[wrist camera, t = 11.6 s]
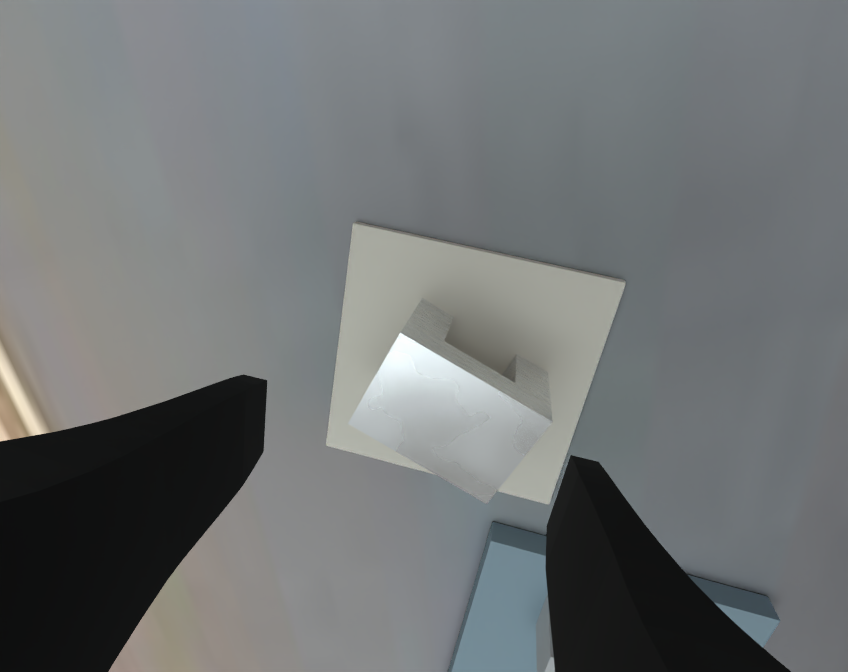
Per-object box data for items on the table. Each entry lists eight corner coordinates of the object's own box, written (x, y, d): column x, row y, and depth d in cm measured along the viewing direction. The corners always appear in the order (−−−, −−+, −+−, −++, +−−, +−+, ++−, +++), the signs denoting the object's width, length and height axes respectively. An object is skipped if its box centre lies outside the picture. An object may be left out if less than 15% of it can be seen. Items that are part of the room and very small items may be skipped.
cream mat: (623, 279, 18) (626, 283, 18) (548, 498, 22) (548, 504, 22) (356, 221, 19) (352, 222, 19) (328, 440, 23) (326, 445, 23)
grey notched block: (548, 372, 20) (552, 421, 16) (493, 445, 21) (486, 504, 18) (422, 298, 20) (400, 332, 16) (376, 377, 21) (347, 423, 18)
